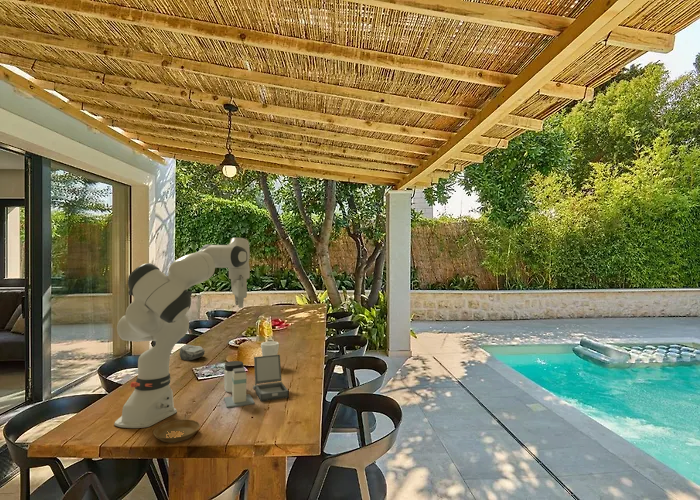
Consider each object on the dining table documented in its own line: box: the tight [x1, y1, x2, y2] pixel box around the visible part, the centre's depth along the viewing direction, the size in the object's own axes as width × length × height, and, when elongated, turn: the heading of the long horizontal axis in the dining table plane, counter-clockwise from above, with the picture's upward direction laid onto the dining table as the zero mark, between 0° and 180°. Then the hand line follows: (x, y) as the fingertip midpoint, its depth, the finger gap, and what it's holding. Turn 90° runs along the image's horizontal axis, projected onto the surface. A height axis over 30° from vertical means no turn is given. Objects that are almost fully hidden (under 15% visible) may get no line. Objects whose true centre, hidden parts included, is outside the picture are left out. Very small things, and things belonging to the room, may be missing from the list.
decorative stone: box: [179, 344, 206, 361], centre depth 242 cm, size 15×14×10 cm
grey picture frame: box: [253, 354, 282, 385], centre depth 189 cm, size 12×12×1 cm
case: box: [252, 381, 290, 402], centre depth 184 cm, size 19×12×9 cm, turn 23°
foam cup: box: [260, 341, 280, 356], centre depth 225 cm, size 10×9×13 cm
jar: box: [223, 360, 244, 393], centre depth 189 cm, size 9×8×12 cm
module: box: [231, 367, 247, 403], centre depth 174 cm, size 5×5×13 cm
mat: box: [223, 393, 256, 409], centre depth 174 cm, size 11×11×1 cm
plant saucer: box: [153, 419, 201, 443], centre depth 142 cm, size 15×15×3 cm
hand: (239, 306), depth 181 cm, fingers open, 8 cm apart
